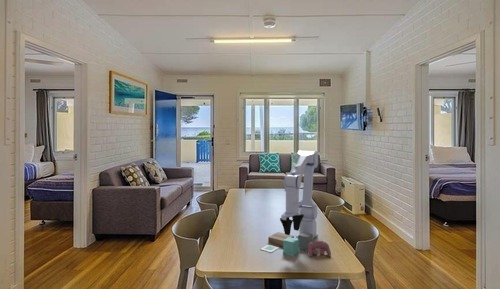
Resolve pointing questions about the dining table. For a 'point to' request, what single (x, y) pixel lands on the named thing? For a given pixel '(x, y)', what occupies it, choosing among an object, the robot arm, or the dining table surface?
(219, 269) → the dining table surface
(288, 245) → the teal block
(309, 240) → the charcoal block
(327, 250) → the pink arch
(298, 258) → the dining table surface
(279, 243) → the walnut base
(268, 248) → the card
